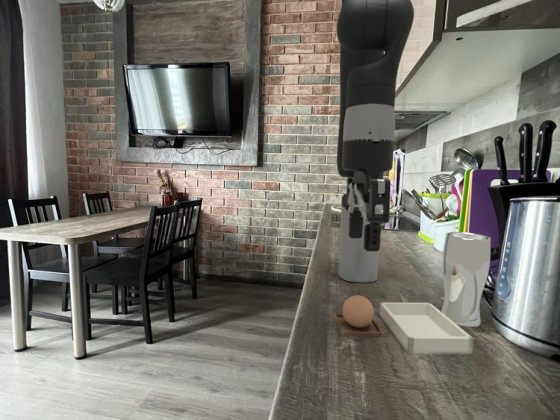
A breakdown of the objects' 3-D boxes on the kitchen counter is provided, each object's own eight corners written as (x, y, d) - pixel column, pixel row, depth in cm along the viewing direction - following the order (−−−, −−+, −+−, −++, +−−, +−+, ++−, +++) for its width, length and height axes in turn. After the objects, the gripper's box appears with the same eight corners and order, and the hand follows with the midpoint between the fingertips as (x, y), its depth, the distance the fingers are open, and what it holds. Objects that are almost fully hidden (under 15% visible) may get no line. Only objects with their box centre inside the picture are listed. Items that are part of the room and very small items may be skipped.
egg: (338, 318, 54) (340, 290, 53) (367, 318, 54) (369, 290, 53) (345, 333, 49) (347, 302, 48) (377, 333, 49) (379, 303, 48)
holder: (333, 318, 54) (333, 313, 54) (370, 318, 55) (370, 313, 55) (341, 338, 48) (341, 333, 48) (384, 338, 48) (384, 333, 48)
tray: (378, 316, 55) (379, 302, 55) (428, 316, 56) (430, 302, 55) (408, 356, 43) (409, 338, 43) (472, 356, 44) (473, 338, 43)
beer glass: (442, 307, 60) (449, 230, 58) (485, 318, 55) (494, 235, 54) (433, 320, 54) (440, 235, 53) (480, 334, 50) (489, 242, 48)
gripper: (334, 143, 54) (330, 234, 56) (356, 133, 40) (350, 255, 42) (376, 144, 55) (371, 235, 57) (413, 134, 41) (405, 256, 43)
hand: (362, 243), depth 50 cm, fingers open, 8 cm apart
